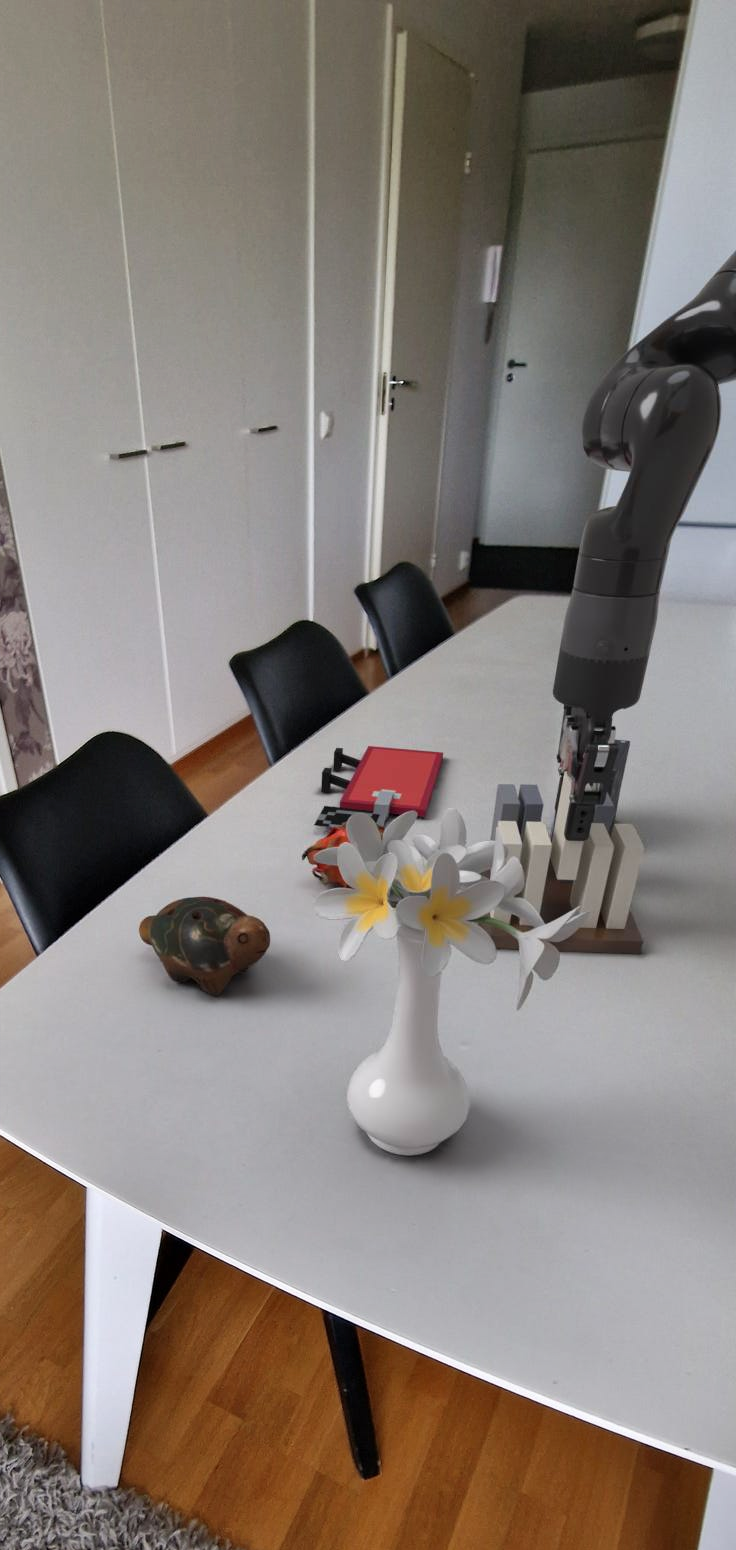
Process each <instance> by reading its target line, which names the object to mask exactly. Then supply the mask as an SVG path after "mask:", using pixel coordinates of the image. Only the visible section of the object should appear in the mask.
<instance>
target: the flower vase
mask: <svg viewBox="0 0 736 1550" xmlns="http://www.w3.org/2000/svg"><path fill="white" fill-rule="evenodd" d="M441 817H442V818H441V822H440V830H439V831H440V834H439V842H437V841H436V840H435V839H434V838H433V837H431V836H429V835H426V834H422V833H419V834H415V835H414V836H413V837H412V844H411V843H410V842H407V841H405V840H403V839H404V838H405V837H406V835H408V832H409V831H410V830H411V828H412V827H413V825H414V824H415V822H416V820H417V818H418V816H417V812H416V811H408V812H406V813H404V814H399V816H396V817H395V818H394V819H393V820H392V821H391V822H390V823H388V825H387V826H386V828H384V829H385V831H384V833H383V839H382V840H381V837H380V833H379V830H378V827H377V826H376V823H375V822H374V820H373V819H372V818H371V817H370V816H368V815H367V814H364V813H356V814H353V815H351V817H349V819H348V821H347V825H346V832H347V836H348V839H349V841H350V843H351V844H350V843H348V842H344V843H342V844H341V845H340V847H332V848H328V849H324V850H322V851H320V852H318V853H317V854H315V855H314V860H315V861H316V862H318V863H322V864H328V865H335V866H338V867H339V870H340V873H341V875H342V878H343V879H344V881H345V882H346V883H347V884H348V885H349V886H350V887H352V888H354V889H349V888H344V887H336V888H335V887H334V888H330V889H326V890H324V891H322V892H321V893H320V894H318V895H317V896H316V897H315V899H314V900H313V902H312V910H313V912H314V913H315V915H316V916H318V917H319V918H322V919H325V920H330V921H331V920H332V921H339V920H349V921H347V922H346V923H345V924H344V926H343V928H342V929H341V932H340V935H339V939H338V944H337V953H338V957H339V959H340V961H342V962H345V963H346V962H349V961H350V960H352V959H353V957H355V956H356V954H357V953H358V952H359V950H360V948H361V946H362V944H363V943H364V941H365V939H366V937H367V936H368V934H369V933H370V932H371V931H373V933H374V934H375V935H376V936H378V938H381V939H384V940H391V939H393V938H395V937H396V944H397V953H398V974H397V976H398V977H397V985H396V991H395V992H396V993H395V1001H394V1009H393V1017H392V1021H391V1025H390V1030H389V1033H388V1035H387V1038H386V1039H385V1042H384V1043H383V1045H382V1046H381V1047H380V1048H379V1049H378V1050H376V1051H374V1052H373V1053H371V1054H369V1055H368V1056H367V1057H365V1059H363V1060H362V1061H361V1062H360V1063H359V1064H358V1065H357V1066H356V1067H355V1068H354V1071H353V1073H352V1074H351V1077H350V1079H349V1081H348V1083H347V1087H346V1098H345V1099H346V1101H345V1102H346V1105H347V1108H348V1112H349V1113H350V1116H351V1117H352V1119H353V1120H354V1121H355V1123H356V1124H357V1125H358V1127H359V1128H360V1129H361V1130H362V1131H363V1132H365V1133H366V1135H367V1136H368V1138H369V1139H370V1141H371V1142H372V1143H373V1144H375V1145H376V1146H377V1147H379V1148H380V1149H382V1150H384V1151H386V1152H388V1153H391V1154H395V1155H398V1156H409V1157H410V1156H418V1155H423V1154H427V1153H429V1152H431V1151H432V1150H435V1148H437V1147H438V1146H439V1145H440V1144H441V1143H443V1142H444V1141H445V1140H447V1139H449V1138H450V1137H452V1136H453V1135H454V1134H456V1133H457V1132H458V1131H459V1130H460V1128H462V1126H463V1125H464V1124H465V1122H466V1120H467V1118H468V1115H469V1113H470V1108H471V1099H470V1090H469V1086H468V1083H467V1081H466V1079H465V1077H464V1075H463V1073H462V1072H461V1070H460V1069H459V1068H458V1067H457V1066H456V1065H455V1064H454V1062H453V1061H452V1060H451V1059H449V1058H448V1057H447V1056H446V1055H444V1052H443V1049H442V1047H441V1042H440V1038H439V1012H440V1011H439V1010H440V1009H439V1008H440V996H441V985H442V975H443V972H444V970H445V969H446V968H447V966H448V964H449V961H450V959H451V956H452V947H454V948H455V949H457V950H458V951H459V952H461V954H463V955H465V957H467V958H469V959H470V960H472V961H474V962H476V963H479V964H481V965H482V964H483V965H490V964H493V963H494V961H496V959H497V956H498V951H497V948H496V947H495V945H494V942H493V940H492V939H491V937H490V936H489V935H488V934H487V932H486V931H485V930H483V929H482V928H481V927H480V926H478V925H477V924H475V923H474V922H476V923H484V924H489V925H493V926H495V927H498V928H500V929H502V930H504V931H506V932H508V933H509V934H511V935H512V936H513V937H515V938H516V939H518V941H519V949H518V951H519V953H518V954H519V979H518V980H519V982H518V993H517V1001H516V1011H520V1009H521V1008H522V1006H523V1005H524V1004H525V1002H526V1000H527V998H528V996H529V995H530V991H531V989H532V986H533V983H534V973H536V975H537V976H538V978H539V979H541V980H542V981H548V980H550V979H551V978H552V977H553V976H554V974H555V973H556V971H557V970H558V968H559V964H560V961H561V955H560V951H558V950H557V948H556V947H555V946H553V945H552V944H550V943H549V942H547V941H550V942H560V941H562V940H565V939H566V938H568V937H569V936H571V935H572V934H573V933H574V932H575V931H577V930H578V929H579V927H581V926H582V924H583V923H584V922H585V921H586V920H587V918H588V917H589V914H590V911H587V912H584V913H582V914H579V915H576V916H574V915H575V914H576V913H577V912H578V910H579V909H580V906H578V907H577V908H575V909H573V910H572V911H570V912H568V913H567V914H565V915H563V916H562V917H560V918H558V919H556V920H554V921H552V922H550V923H548V924H545V923H544V921H543V920H542V918H541V917H540V915H539V914H538V912H537V911H536V910H535V908H534V907H533V906H532V905H531V904H530V903H529V902H528V901H526V900H525V899H523V898H510V897H512V896H514V895H516V894H518V893H519V892H520V891H521V890H522V889H523V887H524V884H525V876H524V872H523V868H522V865H521V864H520V861H519V860H518V858H517V857H515V856H514V857H511V858H510V859H509V861H508V862H507V863H506V861H504V860H505V859H506V858H507V857H508V854H509V850H508V848H507V846H506V845H505V844H504V843H503V842H502V838H501V835H500V832H499V830H498V827H496V836H495V841H490V840H484V841H479V842H476V843H473V844H472V845H470V846H468V847H466V844H467V829H466V827H467V826H466V823H465V821H464V818H463V816H462V814H461V813H460V812H459V811H458V809H456V808H454V807H448V808H447V809H445V811H444V813H443V814H442V816H441ZM438 843H439V844H438ZM423 858H424V859H425V860H426V862H425V866H424V859H423ZM491 868H492V872H491V877H490V880H489V879H488V878H486V877H484V876H481V875H480V874H479V873H481V872H483V871H486V870H489V869H491ZM397 871H398V872H397ZM398 873H399V874H398ZM399 888H400V889H401V890H403V891H405V892H406V893H407V894H409V895H410V896H406V897H405V895H404V894H403V893H402V891H401V890H400V889H399ZM391 891H393V892H394V893H395V895H396V896H397V897H398V899H399V901H398V900H393V899H390V897H391ZM496 906H497V907H499V908H501V909H502V910H504V911H507V912H509V913H511V914H513V915H515V916H518V917H520V918H521V919H523V920H525V921H526V922H527V923H529V924H530V925H532V926H533V927H535V929H532V930H531V931H528V932H521V931H519V930H517V929H515V928H514V927H512V926H511V925H509V924H507V923H505V922H502V921H499V920H497V919H494V918H490V917H483V916H484V915H486V914H487V913H489V912H490V911H492V910H493V909H494V908H495V907H496ZM394 909H395V910H394ZM573 916H574V917H573ZM533 971H534V972H533Z"/></svg>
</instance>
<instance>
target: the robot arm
mask: <svg viewBox="0 0 736 1550" xmlns="http://www.w3.org/2000/svg"><path fill="white" fill-rule="evenodd" d="M735 381H736V250H734V252H733V253H732V254H731V255H730V256H729V257H728V259H727V260H726V261H725V262H724V263H723V264H722V265H721V267H719V269H718V270H717V271H716V272H715V274H713V276H712V277H711V278H710V279H709V280H708V281H707V283H705V285H704V286H703V288H702V289H701V290H700V291H699V293H698V294H696V296H695V297H693V299H691V300H690V301H689V302H688V303H686V304H685V305H684V306H683V307H682V308H680V309H679V310H677V311H676V312H674V313H673V314H671V315H670V316H668V317H667V318H666V319H665V320H663V321H662V322H661V323H660V324H659V325H657V326H656V327H655V328H654V329H653V330H652V331H650V332H649V333H648V334H646V335H645V336H644V337H643V338H641V340H639V341H638V342H637V343H635V344H634V345H633V346H632V347H631V348H629V350H628V351H626V352H625V353H624V354H623V355H621V356H620V357H619V359H618V360H617V361H615V362H614V364H612V365H611V366H610V368H609V369H608V370H607V371H606V372H605V374H604V375H603V376H602V377H601V379H600V380H599V381H598V383H597V385H596V386H595V387H594V389H593V390H592V392H591V394H590V396H589V398H588V400H587V403H586V405H585V407H584V411H583V413H582V418H581V422H580V442H581V446H582V449H583V451H584V453H585V455H586V457H587V458H588V459H589V460H590V461H591V462H592V463H593V464H595V465H597V466H599V467H601V468H603V469H606V470H612V471H618V472H626V473H627V472H628V473H629V475H628V478H627V481H626V482H625V485H624V488H623V490H622V492H621V495H620V497H619V499H618V501H617V503H616V505H613V506H608V507H605V508H601V509H599V510H597V511H595V512H593V513H592V514H591V515H590V516H589V517H588V519H587V520H586V522H585V524H584V527H583V531H582V535H581V539H580V545H579V550H578V556H577V562H576V566H575V567H576V569H575V573H574V578H573V587H572V589H571V595H570V597H569V598H570V599H569V602H568V605H567V608H566V612H565V616H564V621H563V627H562V633H561V639H560V645H559V650H558V657H557V663H556V669H555V674H554V675H555V676H554V681H553V688H552V695H553V698H554V699H555V701H557V702H559V703H560V704H562V705H563V714H562V721H561V728H560V735H559V743H558V749H557V750H558V751H557V754H556V762H557V763H558V764H559V766H558V768H557V772H558V776H560V777H559V781H558V785H557V786H558V787H557V793H556V797H555V804H554V813H555V812H556V814H557V811H558V805H559V800H560V794H561V789H562V783H563V777H564V772H565V771H567V775H568V776H569V777H570V778H571V779H572V783H571V793H570V795H569V800H570V803H569V808H568V814H567V819H566V824H565V829H564V836H565V839H566V840H568V841H585V840H587V839H588V837H589V833H590V828H591V824H592V819H593V814H594V809H595V805H603V804H604V801H605V800H606V794H607V790H608V787H609V783H610V779H611V776H612V772H613V768H614V764H615V761H616V757H617V754H618V752H619V748H618V744H617V743H614V742H615V740H616V732H617V727H616V725H613V716H614V714H615V713H616V712H618V711H620V710H626V709H629V708H631V707H633V706H635V705H637V703H638V702H639V701H640V699H641V696H642V690H643V685H644V681H645V676H646V672H647V668H648V663H649V659H650V654H651V649H652V645H653V640H654V637H655V632H656V629H657V628H656V627H657V621H658V615H659V614H658V613H659V603H660V597H661V589H662V584H663V580H664V575H665V572H666V566H667V562H668V557H669V553H670V547H671V542H672V538H673V537H674V533H675V531H676V530H677V527H678V526H679V523H680V521H681V520H682V517H683V516H684V513H685V512H686V509H687V507H688V505H689V503H690V500H691V498H692V496H693V494H694V491H695V489H696V487H697V485H698V483H699V481H700V479H701V477H702V474H703V472H704V470H705V468H706V466H707V464H708V461H709V460H710V457H711V455H712V452H713V450H714V447H715V444H716V441H717V438H718V436H719V430H720V426H721V420H722V396H721V390H720V387H719V385H723V384H727V383H730V382H735ZM561 776H563V777H561ZM588 783H593V790H592V791H585V787H586V785H587V784H588Z"/></svg>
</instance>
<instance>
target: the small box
mask: <svg viewBox="0 0 736 1550" xmlns="http://www.w3.org/2000/svg"><path fill="white" fill-rule="evenodd" d="M614 743H617V744H618V748H619V752H618V754H617V757H616V761H615V764H614V768H613V772H612V776H611V779H610V783H609V787H608V790H607V792H608V794H609V797H610V799H611V801H612V803H613V805H614V810H613V814H612V819H611V823H610V828H609V833H608V834H609V835H610V833H611V831H612V829H613V827H614V824H615V821H616V816H617V811H618V805H619V798H620V794H621V789H622V784H623V780H624V775H625V770H626V765H627V762H628V761H627V760H628V756H629V751H630V747H631V741H630V740H624V739H615V742H614ZM560 777H563V776H560ZM589 785H590V786H593V783H589ZM556 816H557V814H556V812H555V811H554V815H553V821H552V829H551V834H550V841H551V844H552V838H553V833H554V827H555V822H556Z"/></svg>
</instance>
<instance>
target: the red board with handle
mask: <svg viewBox="0 0 736 1550" xmlns="http://www.w3.org/2000/svg"><path fill="white" fill-rule="evenodd" d="M443 759H444V752H441V751H429V750H419V749H407V748H396V747H386V746H374V745H368V746H367V747H366V750H365V752H364V753H363V756H362V757H361V759H358V758H355V757H353V756H350V755H347V754H344V748H343V747H336V748H335V750H334V751H333V764H332V765H333V766H332V767H324V768H323V769H322V772H321V786H320V787H321V789H320V793H329V792H330V790H331V787H332V785H334V786H336V787H339V788H341V789H343V790H345V791H344V793H343V794H342V796H341V798H340V800H339V806H330V805H324V806H323V807H322V810H321V811H320V813H319V815H318V816H317V819H316V820H315V822H314V824H313V826H315V827H317V826H318V827H325V828H332V827H338V826H342V823H344V822H347V821H348V819H349V817H351V815H353V814H356V813H364V814H367V815H368V816H370V817H371V818H372V819H373V820H374V822H376V823H377V824H379V825H380V826H382V827H383V828H384V824H385V822H386V820H388V819H389V816H390V814H392V815H393V814H395V815H402V814H404V813H406V812H408V811H416V812H417V817H424V818H425V817H426V815H427V812H428V809H429V805H430V802H431V799H432V796H433V792H434V789H435V785H436V783H437V779H438V775H439V772H440V769H441V766H442V762H443ZM343 764H344V765H346V766H350V767H352V768H355V771H354V773H353V774H352V777H351V778H350V780H349V779H346V778H343V777H341V776H338V775H336V774H333V773H332V771H333V772H341V770H342V768H343Z"/></svg>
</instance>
